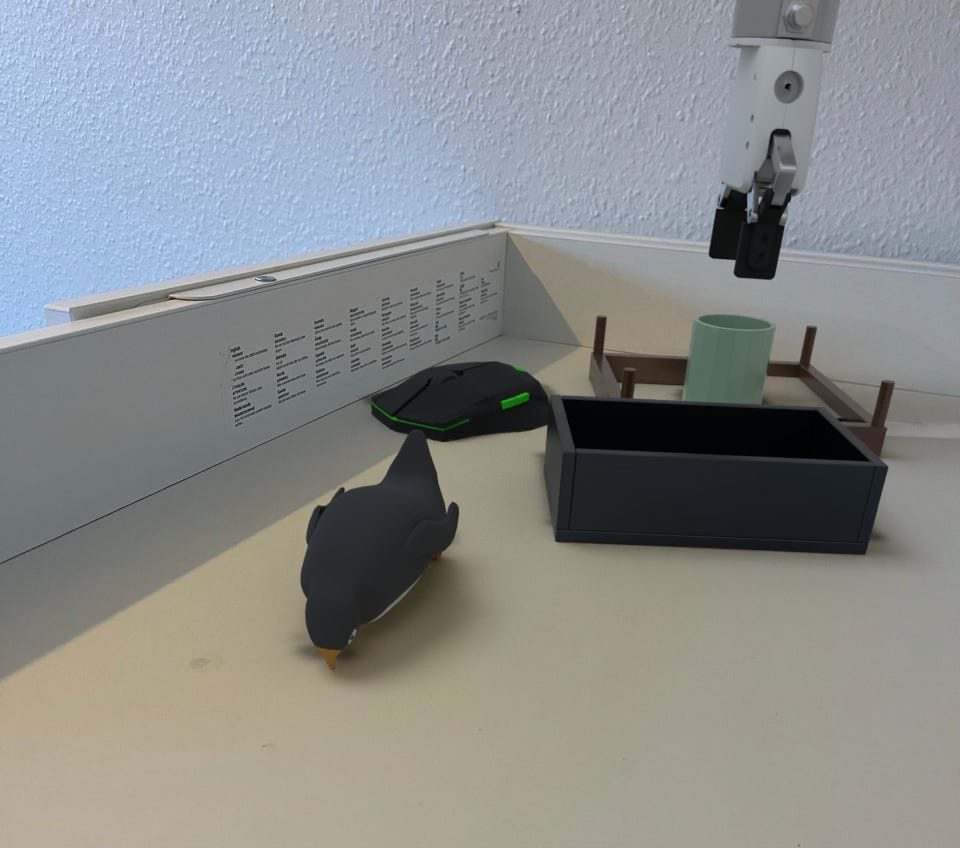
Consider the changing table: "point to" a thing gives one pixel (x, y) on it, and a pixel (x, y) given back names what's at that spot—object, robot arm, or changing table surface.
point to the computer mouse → (464, 401)
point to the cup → (728, 359)
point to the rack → (673, 370)
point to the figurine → (373, 547)
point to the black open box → (708, 475)
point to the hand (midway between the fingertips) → (739, 268)
